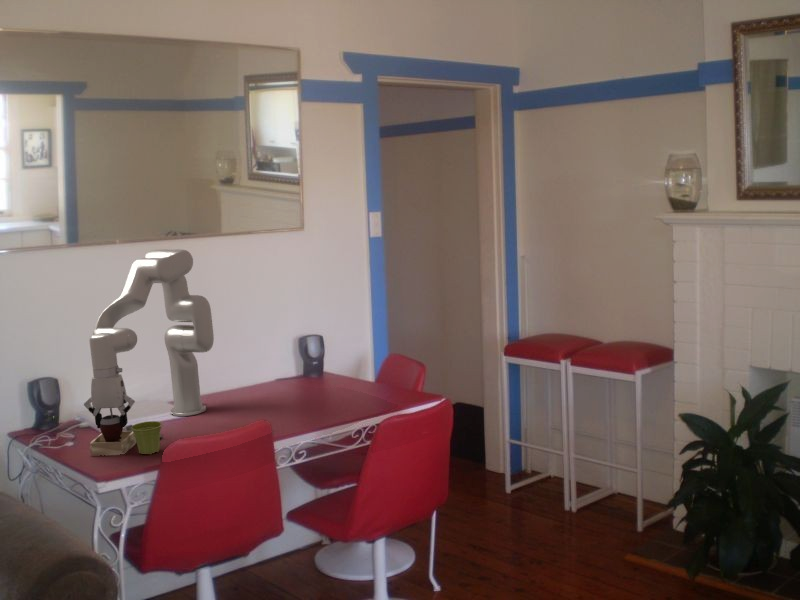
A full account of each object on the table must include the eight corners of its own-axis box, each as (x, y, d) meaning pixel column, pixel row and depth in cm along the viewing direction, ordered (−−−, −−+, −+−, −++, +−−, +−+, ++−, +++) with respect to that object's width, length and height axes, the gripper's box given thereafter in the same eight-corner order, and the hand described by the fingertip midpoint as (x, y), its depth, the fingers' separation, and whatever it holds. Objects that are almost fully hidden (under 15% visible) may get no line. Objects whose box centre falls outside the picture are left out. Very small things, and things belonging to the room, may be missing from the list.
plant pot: (137, 448, 300) (134, 422, 298) (167, 446, 300) (164, 419, 299) (131, 458, 291) (128, 431, 289) (161, 455, 291) (159, 428, 290)
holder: (104, 443, 306) (103, 431, 306) (136, 442, 306) (135, 430, 305) (90, 455, 295) (89, 443, 294) (124, 454, 294) (122, 442, 293)
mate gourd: (112, 446, 295) (106, 400, 292) (95, 442, 299) (89, 397, 296) (130, 438, 301) (125, 393, 298) (113, 435, 305) (108, 391, 302)
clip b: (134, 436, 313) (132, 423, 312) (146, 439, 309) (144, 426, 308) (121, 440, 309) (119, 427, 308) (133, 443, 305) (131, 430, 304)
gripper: (136, 368, 299) (142, 422, 302) (83, 370, 300) (89, 424, 303) (128, 374, 292) (134, 429, 295) (74, 376, 293) (80, 431, 296)
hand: (112, 426), depth 299 cm, fingers closed on mate gourd, 7 cm apart
